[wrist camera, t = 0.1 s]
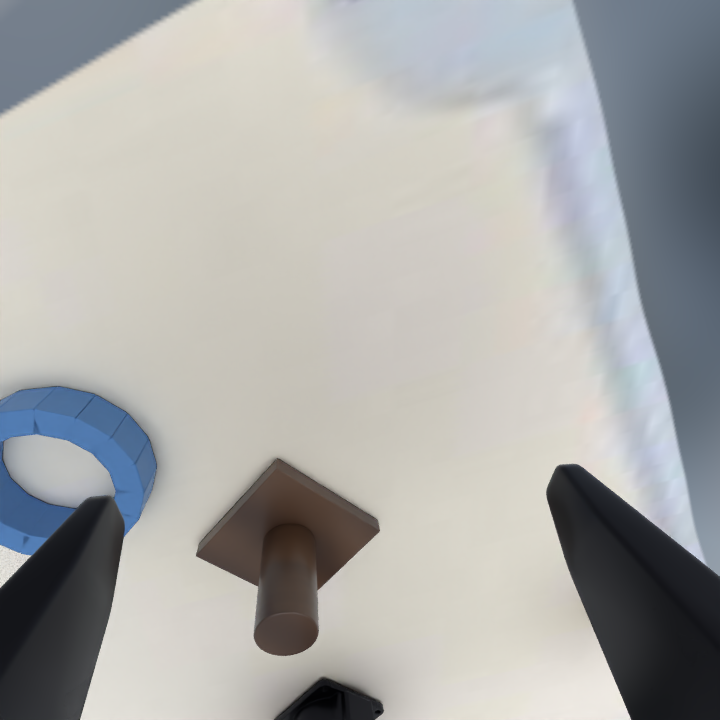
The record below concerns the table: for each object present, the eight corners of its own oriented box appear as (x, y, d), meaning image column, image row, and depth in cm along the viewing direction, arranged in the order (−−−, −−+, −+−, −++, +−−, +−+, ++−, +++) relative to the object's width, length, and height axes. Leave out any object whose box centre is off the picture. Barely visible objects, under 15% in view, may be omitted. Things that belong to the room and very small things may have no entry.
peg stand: (300, 594, 32) (299, 704, 26) (198, 543, 29) (169, 652, 23) (377, 519, 30) (398, 618, 24) (277, 457, 27) (270, 550, 21)
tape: (101, 549, 28) (85, 582, 26) (-58, 476, 25) (-91, 506, 23) (188, 447, 26) (177, 473, 24) (26, 353, 23) (-3, 374, 21)
